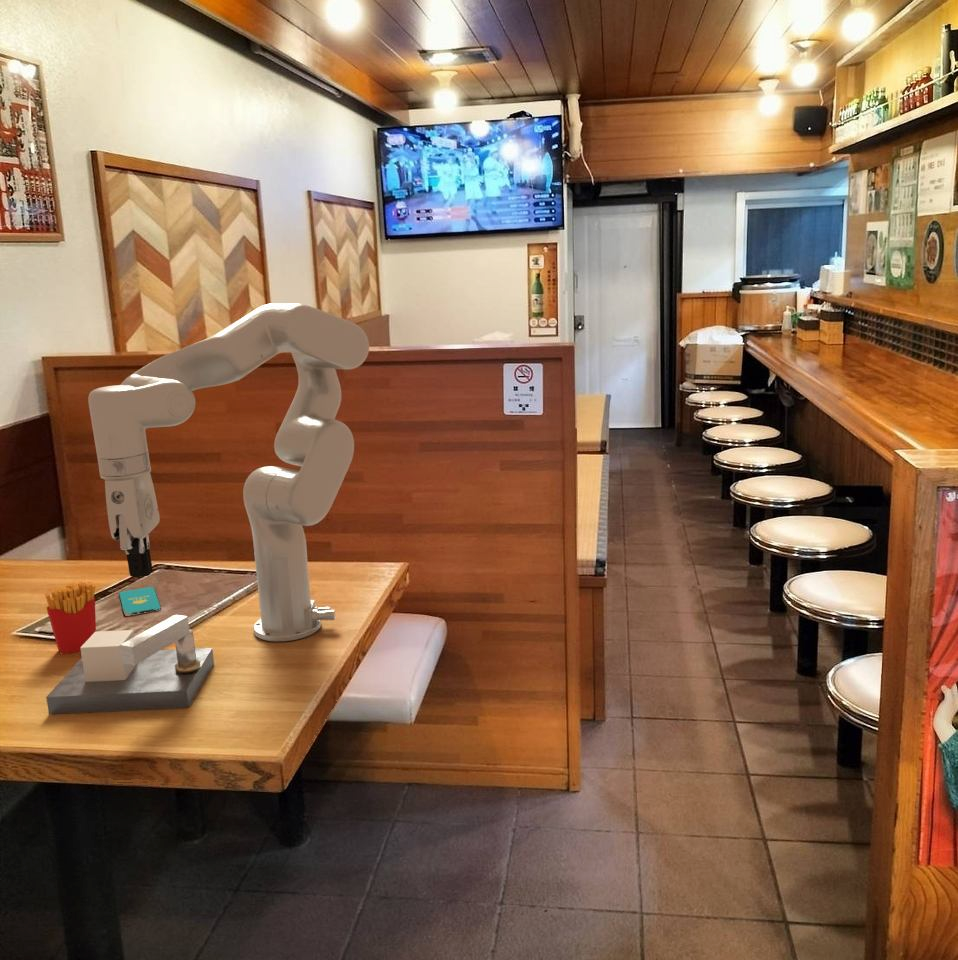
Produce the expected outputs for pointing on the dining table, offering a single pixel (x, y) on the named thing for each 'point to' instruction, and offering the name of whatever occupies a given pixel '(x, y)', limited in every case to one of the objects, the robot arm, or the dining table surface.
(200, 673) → the base plate
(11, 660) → the dining table surface
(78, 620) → the french fries
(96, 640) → the cover cap
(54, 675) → the dining table surface
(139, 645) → the white bent handle
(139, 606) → the smartphone
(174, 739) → the dining table surface
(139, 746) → the dining table surface
